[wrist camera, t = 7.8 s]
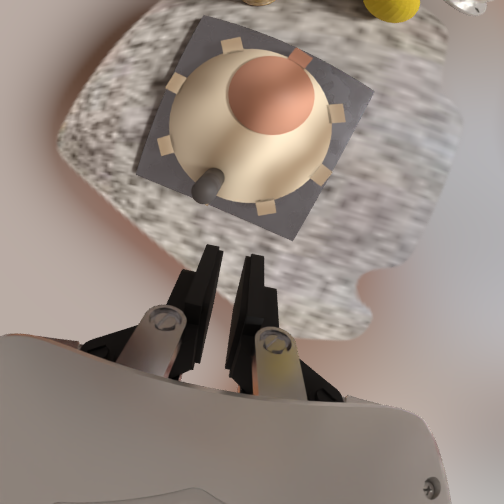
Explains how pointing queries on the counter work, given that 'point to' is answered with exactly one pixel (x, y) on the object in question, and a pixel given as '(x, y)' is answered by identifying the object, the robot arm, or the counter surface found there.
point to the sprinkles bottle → (258, 2)
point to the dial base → (328, 77)
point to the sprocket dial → (250, 126)
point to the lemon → (392, 9)
